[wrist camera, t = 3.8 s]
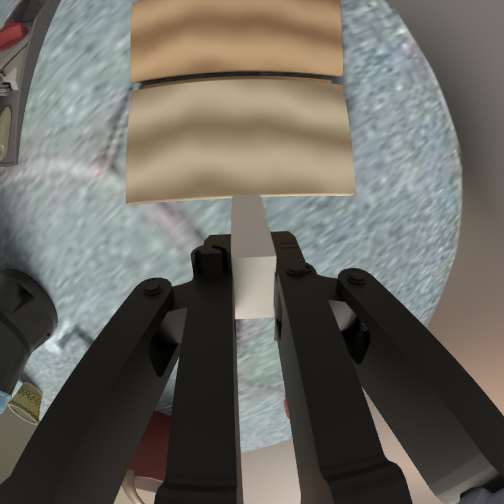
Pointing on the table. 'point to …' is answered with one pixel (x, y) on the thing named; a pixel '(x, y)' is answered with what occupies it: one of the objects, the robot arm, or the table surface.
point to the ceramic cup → (27, 403)
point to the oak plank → (235, 37)
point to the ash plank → (238, 139)
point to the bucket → (149, 459)
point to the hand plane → (19, 69)
